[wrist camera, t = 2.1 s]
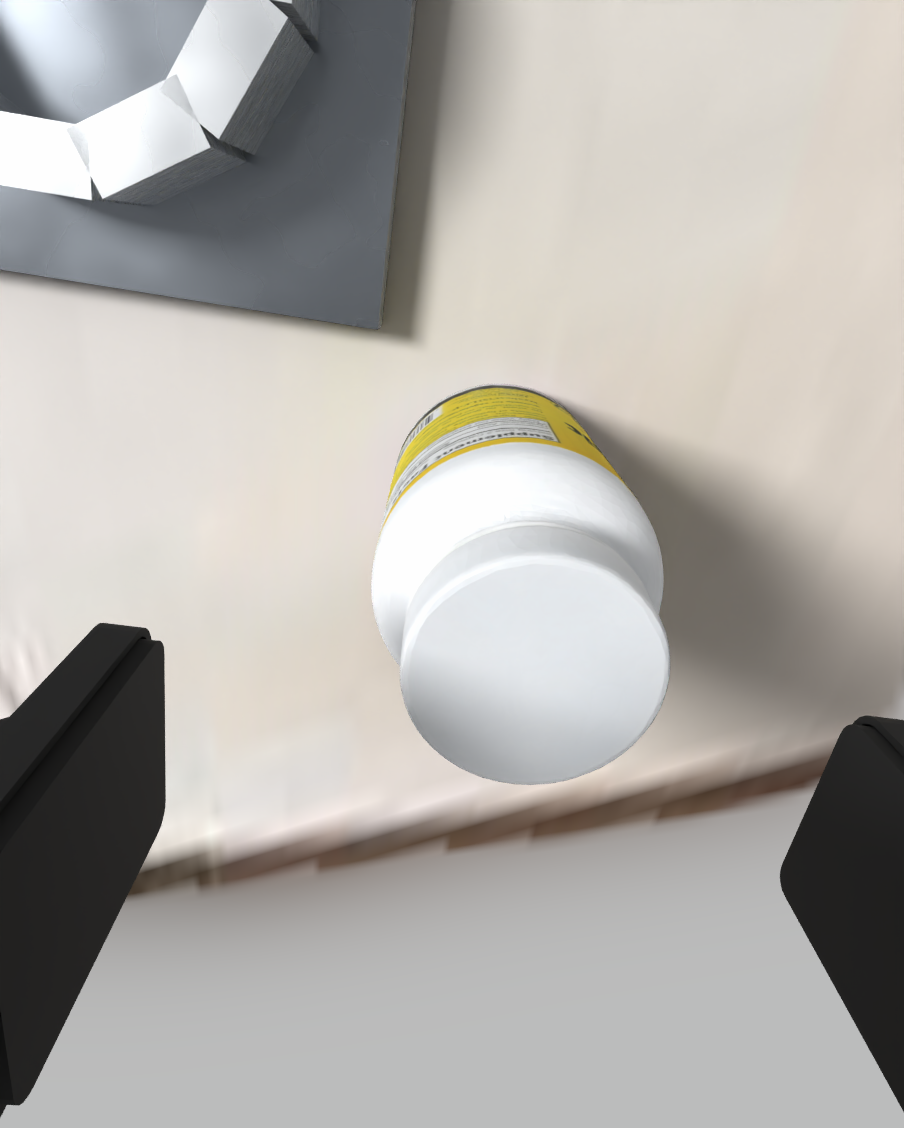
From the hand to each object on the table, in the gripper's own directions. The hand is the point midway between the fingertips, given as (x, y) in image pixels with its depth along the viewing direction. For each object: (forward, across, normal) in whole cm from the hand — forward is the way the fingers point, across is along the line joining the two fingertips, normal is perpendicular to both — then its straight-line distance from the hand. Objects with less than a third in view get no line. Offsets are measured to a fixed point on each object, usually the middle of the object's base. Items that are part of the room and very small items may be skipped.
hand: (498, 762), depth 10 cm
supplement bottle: (+11, -1, -1) cm, 11 cm away
